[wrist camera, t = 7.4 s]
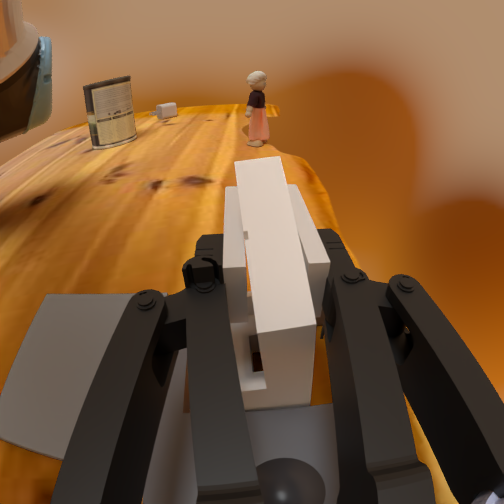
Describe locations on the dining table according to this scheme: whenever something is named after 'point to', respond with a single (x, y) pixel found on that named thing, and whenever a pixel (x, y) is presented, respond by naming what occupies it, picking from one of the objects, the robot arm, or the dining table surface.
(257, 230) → the white wedge bracket
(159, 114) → the usb wall charger
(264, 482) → the grey control panel
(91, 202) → the dining table surface
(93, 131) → the coffee can
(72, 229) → the dining table surface
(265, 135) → the grandmother figurine
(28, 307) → the dining table surface
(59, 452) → the rubber mat
